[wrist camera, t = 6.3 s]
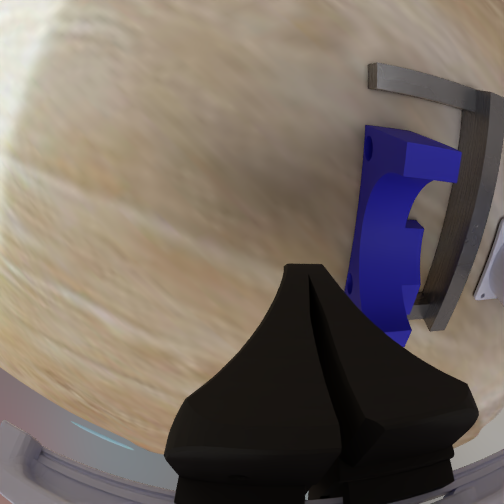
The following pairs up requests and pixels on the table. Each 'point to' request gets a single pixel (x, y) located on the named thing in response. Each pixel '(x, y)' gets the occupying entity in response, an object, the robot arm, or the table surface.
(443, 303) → the rail
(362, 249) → the cable clip
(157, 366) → the table surface
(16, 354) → the table surface
